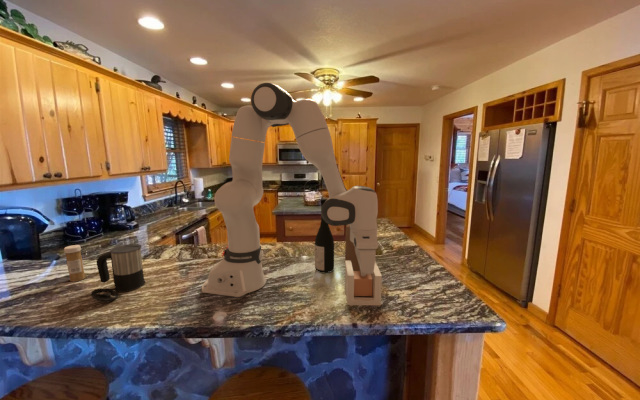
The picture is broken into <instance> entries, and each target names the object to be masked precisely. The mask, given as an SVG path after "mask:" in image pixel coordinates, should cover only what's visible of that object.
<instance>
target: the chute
mask: <svg viewBox="0 0 640 400" xmlns="http://www.w3.org/2000/svg"><path fill="white" fill-rule="evenodd" d="M371 276H372V279H373V282H372V296H371V297H365V296H354V272H353V268H352V263H351V261H344V288H345V289H344V290H345V296H346V297H345V298H346V305H347V306H381V305H382V284H383V283H382V280H383V276H382V273H381V270H380V269H379V267H378V264H377V262H376V261H375V265H374V271H373V274H371Z"/></svg>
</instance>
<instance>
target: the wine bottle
mask: <svg viewBox="0 0 640 400" xmlns="http://www.w3.org/2000/svg"><path fill="white" fill-rule="evenodd" d="M327 199H328V198H321V199H320V208H321V207H322V205H323V203H324V202H325V201H326V200H327ZM314 269H315V271H316V272H319V273H322V274H328V273H331V272H332V271H334V269H335V238H334V237H333V234H332V231H331V229H330V226H329V224H327V223H326V222H325V221H324V220H323V218H322V215H321V214H320V225H319V228H318V230H317V233H316V236H315V240H314Z"/></svg>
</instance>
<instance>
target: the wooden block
mask: <svg viewBox="0 0 640 400" xmlns="http://www.w3.org/2000/svg"><path fill="white" fill-rule="evenodd" d="M344 240H345V244H344V245H345V248H344V249H345V250H344V253H345V254H344V256H345V257H344V260H345V261H351V263H352V268H353V271H360V267H359V263H358V260H357V256H356V253H355V246H354V244H353V242H351V241H350V224H348V225H345V239H344ZM345 261H344V262H345Z"/></svg>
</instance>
